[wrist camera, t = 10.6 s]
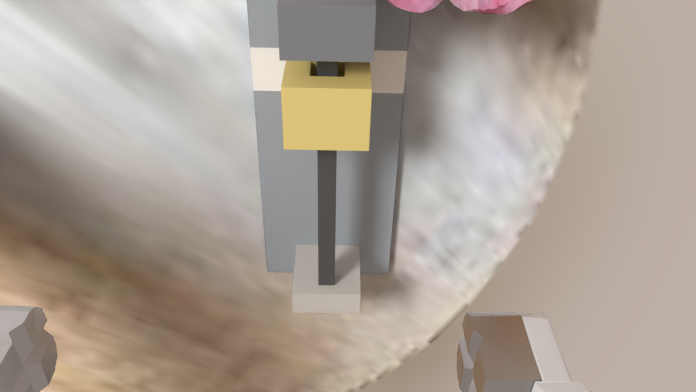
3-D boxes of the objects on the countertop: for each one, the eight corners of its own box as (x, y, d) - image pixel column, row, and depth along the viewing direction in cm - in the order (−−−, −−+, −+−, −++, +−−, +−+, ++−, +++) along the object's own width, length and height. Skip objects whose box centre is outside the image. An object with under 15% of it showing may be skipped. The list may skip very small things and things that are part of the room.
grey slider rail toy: (268, 266, 51) (258, 331, 45) (245, -45, 36) (226, -7, 30) (387, 268, 51) (393, 333, 45) (413, -42, 36) (426, -2, 31)
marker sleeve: (289, 108, 40) (283, 149, 36) (287, 50, 38) (280, 87, 33) (366, 110, 40) (368, 151, 36) (369, 52, 38) (372, 89, 34)
